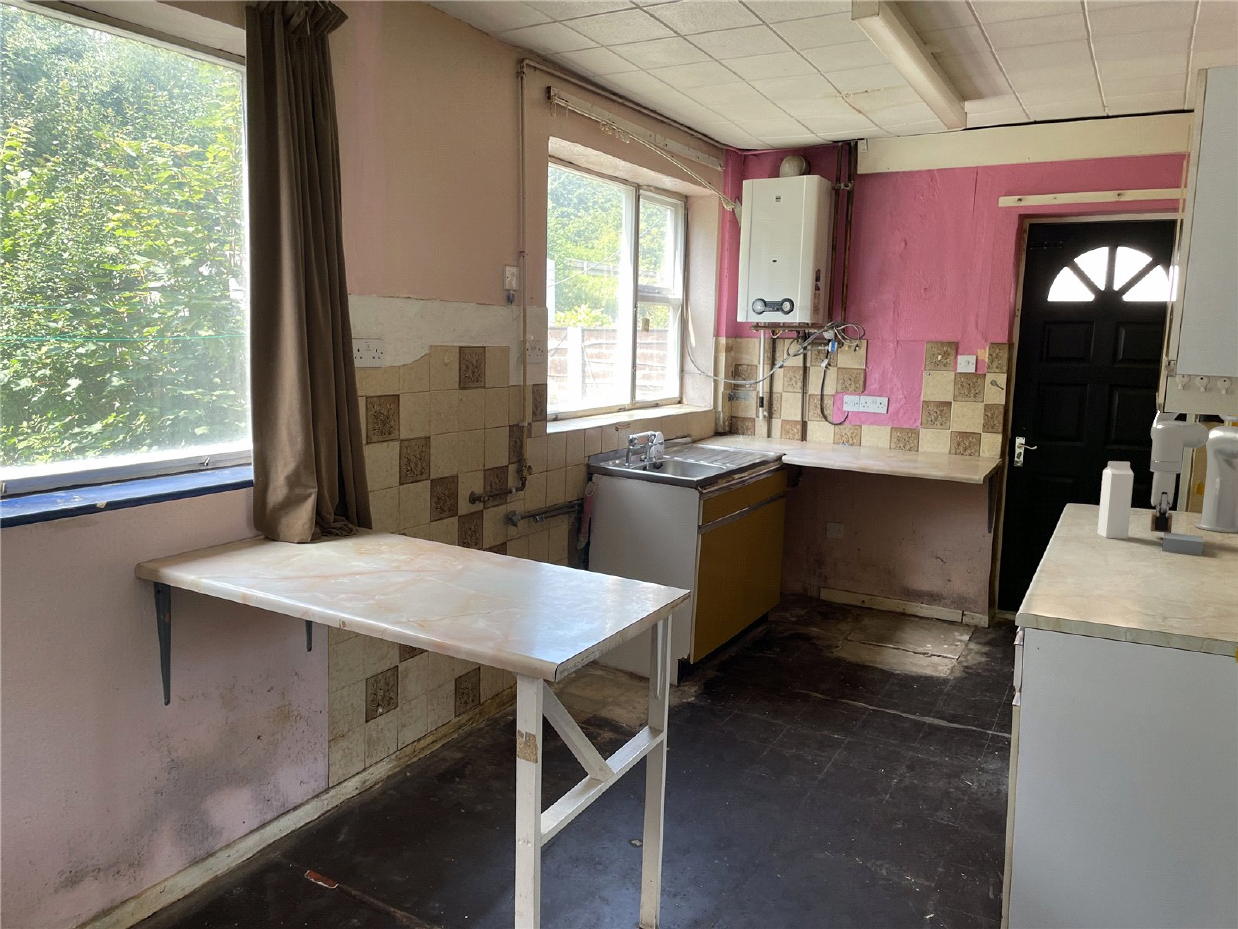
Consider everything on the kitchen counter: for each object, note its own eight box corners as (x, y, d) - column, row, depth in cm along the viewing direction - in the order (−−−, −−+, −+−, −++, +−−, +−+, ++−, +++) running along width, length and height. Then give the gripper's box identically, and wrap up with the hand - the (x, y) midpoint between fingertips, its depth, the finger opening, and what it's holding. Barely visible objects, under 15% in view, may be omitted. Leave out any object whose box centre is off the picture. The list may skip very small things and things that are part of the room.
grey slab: (1201, 550, 239) (1202, 536, 239) (1201, 556, 232) (1203, 542, 231) (1162, 546, 244) (1164, 532, 244) (1162, 552, 237) (1163, 537, 236)
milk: (1127, 539, 251) (1135, 463, 248) (1105, 538, 252) (1113, 462, 249) (1118, 534, 257) (1125, 460, 254) (1096, 533, 258) (1103, 459, 255)
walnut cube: (1170, 529, 254) (1171, 512, 253) (1171, 533, 250) (1172, 516, 249) (1150, 528, 256) (1151, 511, 256) (1150, 531, 252) (1152, 514, 251)
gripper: (1149, 462, 260) (1144, 522, 262) (1151, 469, 245) (1146, 533, 247) (1179, 463, 256) (1174, 524, 259) (1183, 471, 241) (1177, 535, 244)
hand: (1160, 528), depth 253 cm, fingers closed on walnut cube, 5 cm apart
